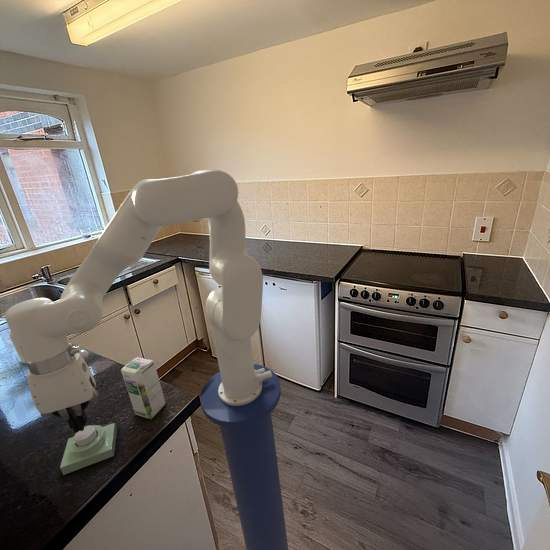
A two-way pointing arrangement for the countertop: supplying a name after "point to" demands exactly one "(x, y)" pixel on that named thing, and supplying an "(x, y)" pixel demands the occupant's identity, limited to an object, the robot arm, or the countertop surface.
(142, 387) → the syrup box
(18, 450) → the countertop surface
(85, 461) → the green push button base
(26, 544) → the countertop surface
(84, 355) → the flush lever
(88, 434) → the white round push button
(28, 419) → the countertop surface
